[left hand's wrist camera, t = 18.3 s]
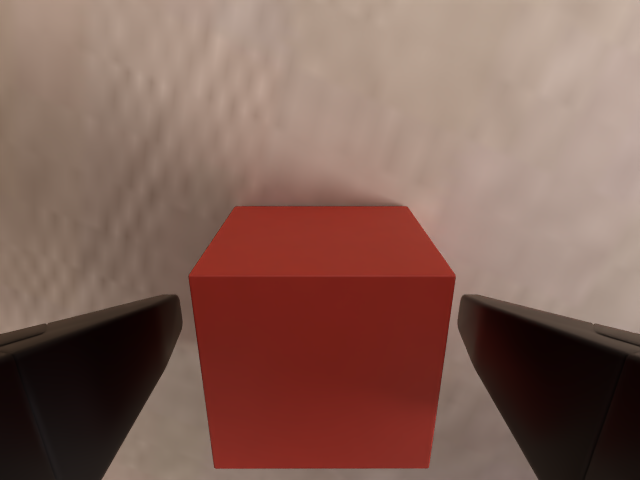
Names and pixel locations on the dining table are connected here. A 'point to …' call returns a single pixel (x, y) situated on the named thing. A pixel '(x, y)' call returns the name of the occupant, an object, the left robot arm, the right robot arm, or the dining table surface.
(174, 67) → the dining table surface
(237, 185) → the dining table surface
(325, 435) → the red cube
